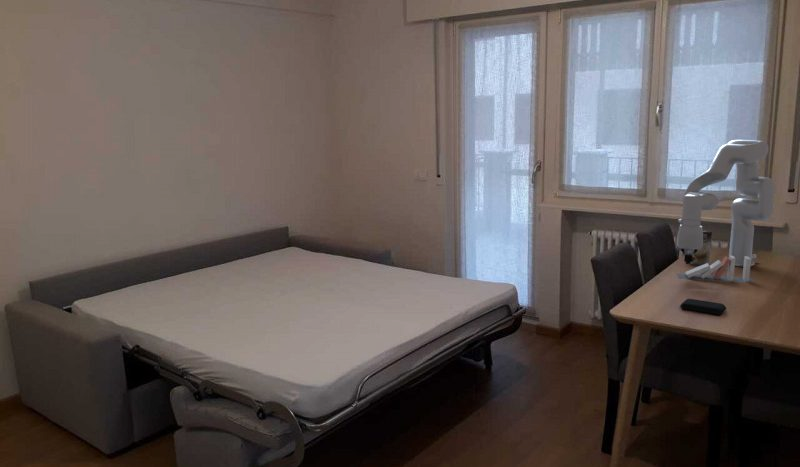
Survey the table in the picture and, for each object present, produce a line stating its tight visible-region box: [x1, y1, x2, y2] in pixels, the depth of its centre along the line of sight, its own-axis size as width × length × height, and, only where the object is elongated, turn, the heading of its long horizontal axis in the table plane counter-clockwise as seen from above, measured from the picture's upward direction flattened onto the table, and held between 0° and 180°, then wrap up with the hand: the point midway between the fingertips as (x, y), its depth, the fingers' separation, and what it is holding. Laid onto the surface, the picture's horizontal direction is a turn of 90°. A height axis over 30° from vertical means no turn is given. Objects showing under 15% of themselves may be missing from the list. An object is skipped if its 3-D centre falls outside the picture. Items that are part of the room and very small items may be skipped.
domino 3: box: [726, 255, 736, 281], centre depth 269 cm, size 2×5×10 cm, turn 162°
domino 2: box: [699, 259, 723, 279], centre depth 272 cm, size 2×5×10 cm
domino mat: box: [676, 273, 756, 284], centre depth 272 cm, size 30×8×1 cm, turn 72°
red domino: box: [712, 255, 731, 280], centre depth 270 cm, size 2×5×10 cm, turn 163°
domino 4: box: [741, 256, 751, 282], centre depth 267 cm, size 2×5×10 cm, turn 162°
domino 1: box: [684, 263, 711, 278], centre depth 273 cm, size 2×5×10 cm
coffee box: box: [687, 229, 713, 266], centre depth 299 cm, size 9×6×16 cm
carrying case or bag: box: [679, 298, 727, 317], centre depth 232 cm, size 11×3×15 cm
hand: (687, 263), depth 274 cm, fingers closed
